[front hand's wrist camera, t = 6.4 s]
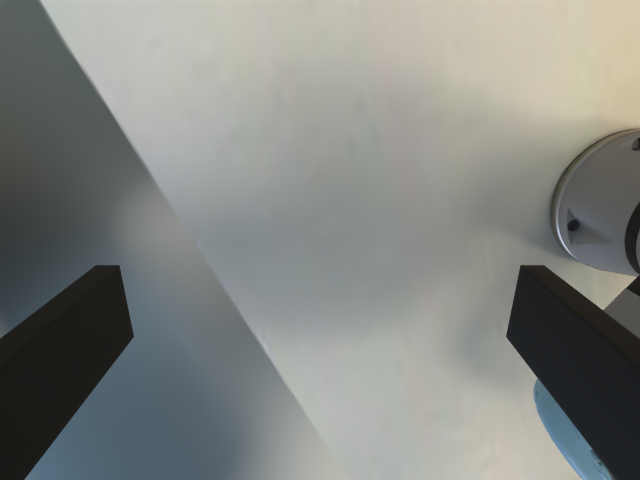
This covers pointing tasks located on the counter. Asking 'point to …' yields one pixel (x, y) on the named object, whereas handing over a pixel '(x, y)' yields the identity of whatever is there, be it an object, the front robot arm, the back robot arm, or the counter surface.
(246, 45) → the counter surface
